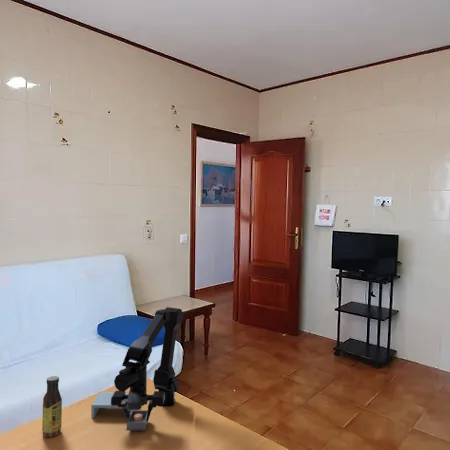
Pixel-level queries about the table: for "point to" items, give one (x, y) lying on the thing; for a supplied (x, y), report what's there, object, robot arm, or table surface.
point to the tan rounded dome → (138, 418)
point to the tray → (137, 425)
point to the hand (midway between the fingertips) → (138, 420)
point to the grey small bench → (103, 402)
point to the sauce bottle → (52, 408)
